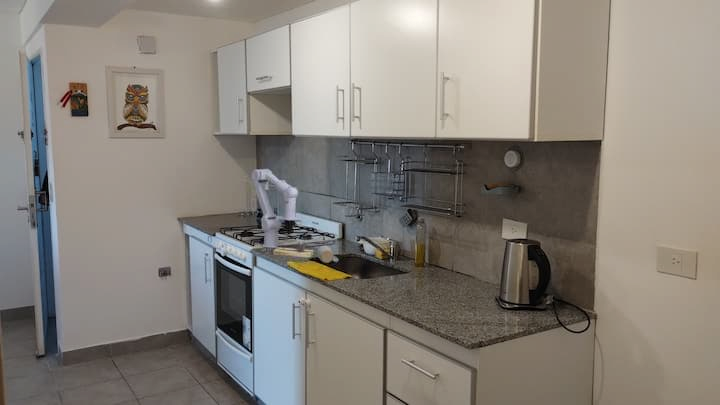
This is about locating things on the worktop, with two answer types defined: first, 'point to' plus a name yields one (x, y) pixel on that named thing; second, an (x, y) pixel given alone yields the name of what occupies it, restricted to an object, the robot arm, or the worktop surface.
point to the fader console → (292, 252)
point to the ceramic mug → (326, 254)
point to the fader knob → (301, 246)
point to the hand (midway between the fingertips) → (289, 234)
